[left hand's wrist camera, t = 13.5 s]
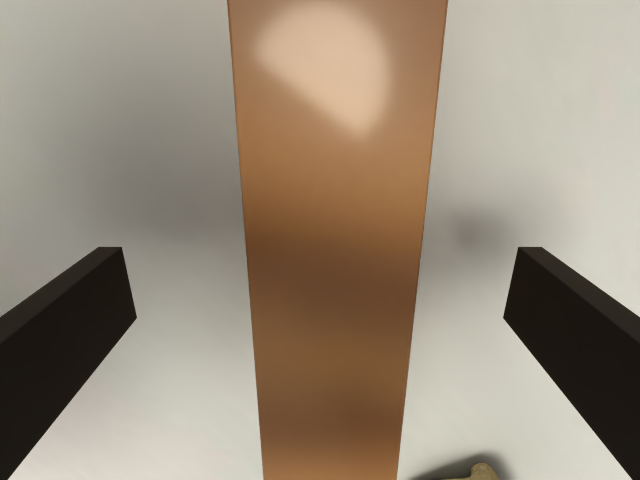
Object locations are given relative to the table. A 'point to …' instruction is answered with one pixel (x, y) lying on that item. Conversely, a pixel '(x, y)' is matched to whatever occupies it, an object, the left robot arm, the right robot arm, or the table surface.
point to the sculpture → (480, 473)
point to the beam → (334, 220)
